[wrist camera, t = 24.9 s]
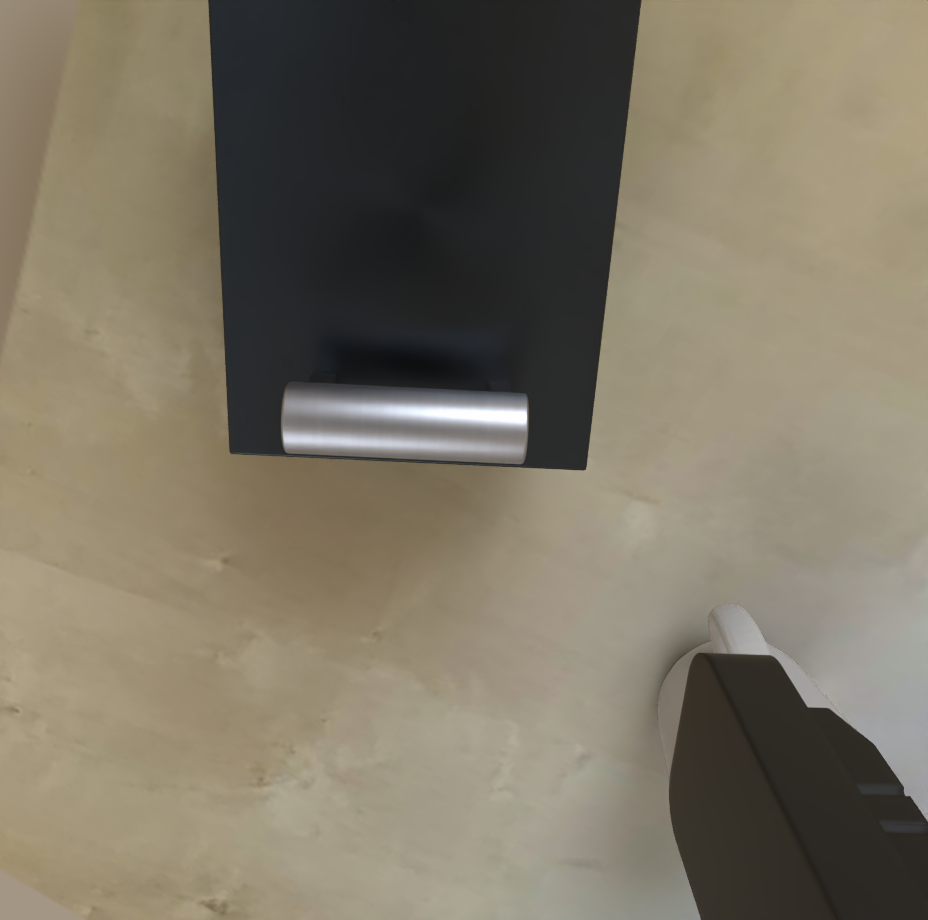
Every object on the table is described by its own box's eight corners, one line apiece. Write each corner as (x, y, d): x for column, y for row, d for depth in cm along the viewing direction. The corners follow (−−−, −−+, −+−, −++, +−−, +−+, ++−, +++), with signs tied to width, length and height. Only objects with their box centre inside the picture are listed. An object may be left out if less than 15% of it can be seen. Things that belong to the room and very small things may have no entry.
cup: (609, 581, 36) (651, 696, 29) (792, 537, 36) (884, 643, 28) (653, 774, 40) (700, 920, 32) (820, 737, 39) (907, 877, 32)
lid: (582, 461, 26) (610, 530, 21) (235, 445, 25) (189, 511, 21) (645, -88, 21) (700, -150, 16) (210, -119, 20) (142, -191, 16)
